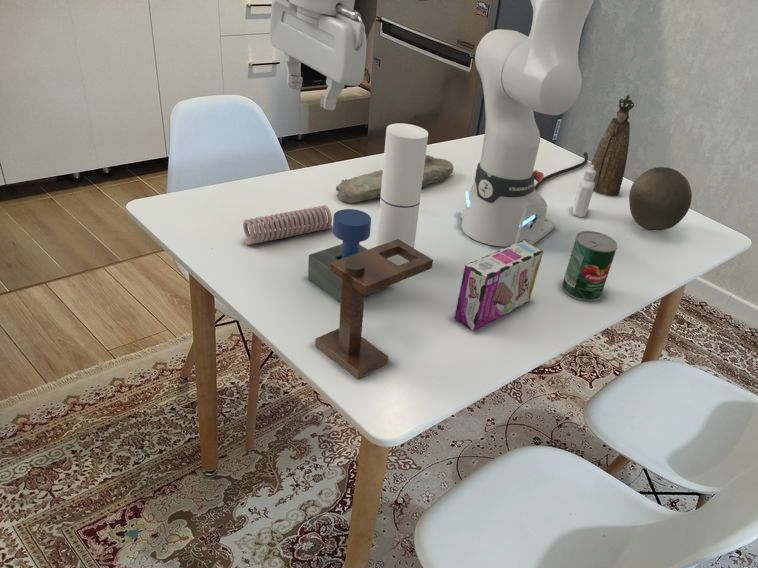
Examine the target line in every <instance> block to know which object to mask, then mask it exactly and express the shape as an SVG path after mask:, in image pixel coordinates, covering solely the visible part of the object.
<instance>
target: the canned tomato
mask: <svg viewBox="0 0 758 568" xmlns="http://www.w3.org/2000/svg"><path fill="white" fill-rule="evenodd" d="M617 249H618V242H617V241H616V240H615V239H614V238H613V237H611V236H610V235H607V234H605V233H602V232H599V231H594V230H581V231H579V232H578V233H576V235H575V239H574V242H573V246H572V250H571V253H570V257H569V260H568V264H567V267H566V270H565V274H564V278H563V282H562V284H561V288H562V290H563V292H564V293H565V294H567V295H568V296H569V297H571V298H573V299H575V300H579V301H582V302H595V301H598V300H599V299H601V298H602V295H603V291H604V288H605V285H606V282H607V279H608V276H609V273H610V270H611V268H612V263H613V260H614V258H615V255H616V252H617Z"/></svg>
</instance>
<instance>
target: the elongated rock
mask: <svg viewBox="0 0 758 568" xmlns="http://www.w3.org/2000/svg"><path fill="white" fill-rule="evenodd" d="M453 173H454V165H453V163H452V162H451V161H449V160H447V159H445V158H437V157H434V156H431V155H430V154H426V157H425V165H424V173H423V181H422V187H426V186H429V185H430V184H434V183H440V182H442V181H444V179H445V178H448V177H449V176H451V175H452V174H453ZM382 174H383V169H379V170H376V171H372V172H370V173H364V174H362V175H359V176H353V177H352V178H349V179H347V178H346V179H341V182H340V183H339V184H337V185H336V186H335V191H336V192H337V194H336V196H337V198H338V199H339V200H341V201H342V202H344V203H347V204H356V203H358V202H362V201H367V200H368V201H369V200H372V199H379V198H380V197H381V186H382Z"/></svg>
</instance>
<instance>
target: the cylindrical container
mask: <svg viewBox="0 0 758 568" xmlns="http://www.w3.org/2000/svg"><path fill="white" fill-rule="evenodd" d="M428 139H429V131H427V130H426V128H423V127H421V126H418V125H415V124H411V123H402V122H401V123H400V122H399V123H398V122H397V123H391V124H388V125H387V126H386V130H385V141H384V154H383V164H382V170H383V174H382V186H381V197H379V198H380V199H379V209H378V210H379V211H378V222H377V231H376V242H375V243H376V244H375V247H377V246H380V245H383V244H386V243H388V242H391V241H394V240H397V239H399V240H401V241H402V242H404V243H406V244H407V245H409V246H411V247H412V248H414V249H415V243H416V235H417V228H418V219H419V211H420V203H421V196H422V195H421V194H422V187H423V186H422V181H423V173H424V165H425V157H426V155H427V150H428V149H427V148H428ZM387 259H388V260H389V261H391V262H393V263H394V264H396V265H397V266H399V265H401V264H404V263H406V262H409V261H408V260H406V259H405V258H403V257H401V256H400V255H398V254H397V255H395V256H392V257H389V258H387Z"/></svg>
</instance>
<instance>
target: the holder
mask: <svg viewBox="0 0 758 568" xmlns="http://www.w3.org/2000/svg"><path fill="white" fill-rule="evenodd" d="M342 245H343V243H341V244H338V245H335V246H332V247H329V248H325V249H322V250H319V251H316V252H313V253H310V254H308V261H307V263H308V266H307V278H308V279H307V280H308V281H310V282H311V283H312V284H314V285H315V286H316V287H318V288H319V289H321V290H322V291H324V292H325V293H326V294H328V295H329V296H330V297H332V298H333V299H335V300H336V301H338V302H339V303H341V287H342V279H340V278H339V277H337V276H336V275H334V274H333V273H332V272H330V263H331V262H334V261H337V260H340V259H342ZM365 250H368V249H367V248H366V247H365V246H363V245H361V244H360V243H359V253H360V252H363V251H365ZM388 288H389V286H387V287H385V288H382V289H380V290H377V291H375V292H373V293H370V294H368V295H365V297H364V298H366V297H370V296H371V295H374V294H376V293H379V292H381V291H384V290H386V289H388Z"/></svg>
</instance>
